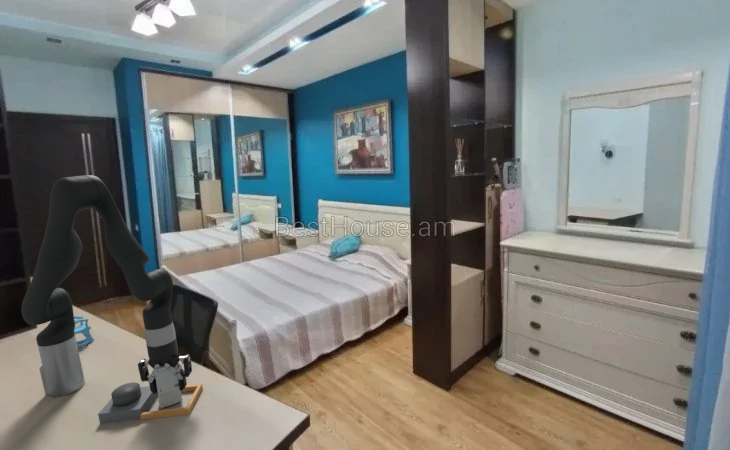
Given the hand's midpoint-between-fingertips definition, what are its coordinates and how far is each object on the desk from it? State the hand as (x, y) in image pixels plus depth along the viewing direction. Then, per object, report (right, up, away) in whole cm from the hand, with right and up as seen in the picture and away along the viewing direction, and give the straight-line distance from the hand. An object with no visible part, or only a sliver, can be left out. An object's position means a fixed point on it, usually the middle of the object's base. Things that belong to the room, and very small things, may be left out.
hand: (169, 390), depth 108 cm
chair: (-58, 0, +40) cm, 71 cm away
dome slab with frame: (-5, -5, 0) cm, 6 cm away
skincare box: (0, -4, +1) cm, 4 cm away
